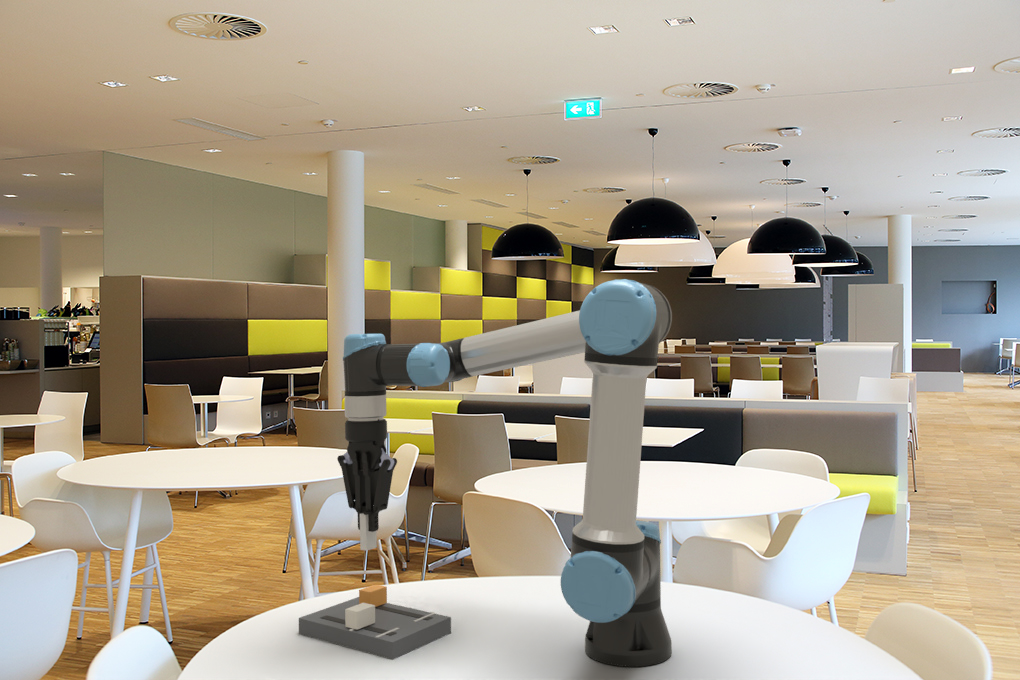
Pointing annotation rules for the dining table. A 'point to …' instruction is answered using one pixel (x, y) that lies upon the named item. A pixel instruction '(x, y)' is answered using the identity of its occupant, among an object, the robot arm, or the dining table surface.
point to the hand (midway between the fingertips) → (368, 548)
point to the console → (377, 629)
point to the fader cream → (360, 616)
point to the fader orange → (373, 595)
